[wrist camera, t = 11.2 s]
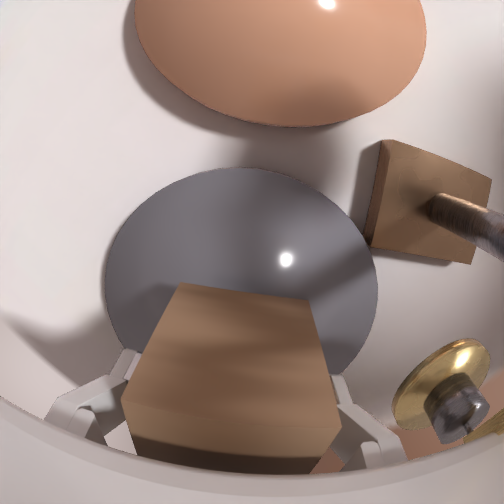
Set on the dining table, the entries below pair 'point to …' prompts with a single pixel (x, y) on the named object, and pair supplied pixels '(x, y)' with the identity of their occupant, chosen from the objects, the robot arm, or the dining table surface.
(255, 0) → the terracotta dish
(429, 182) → the balance
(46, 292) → the dining table surface
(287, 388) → the walnut block
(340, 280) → the charcoal dish
